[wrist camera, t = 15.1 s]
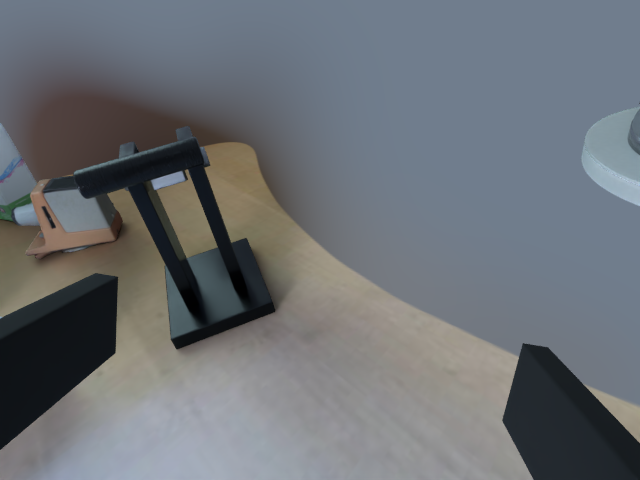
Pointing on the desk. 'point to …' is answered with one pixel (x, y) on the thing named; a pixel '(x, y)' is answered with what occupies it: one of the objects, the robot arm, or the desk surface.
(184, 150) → the lever
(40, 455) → the desk surface
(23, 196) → the ink box
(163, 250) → the black lever stand
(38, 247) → the electronic device
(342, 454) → the desk surface
